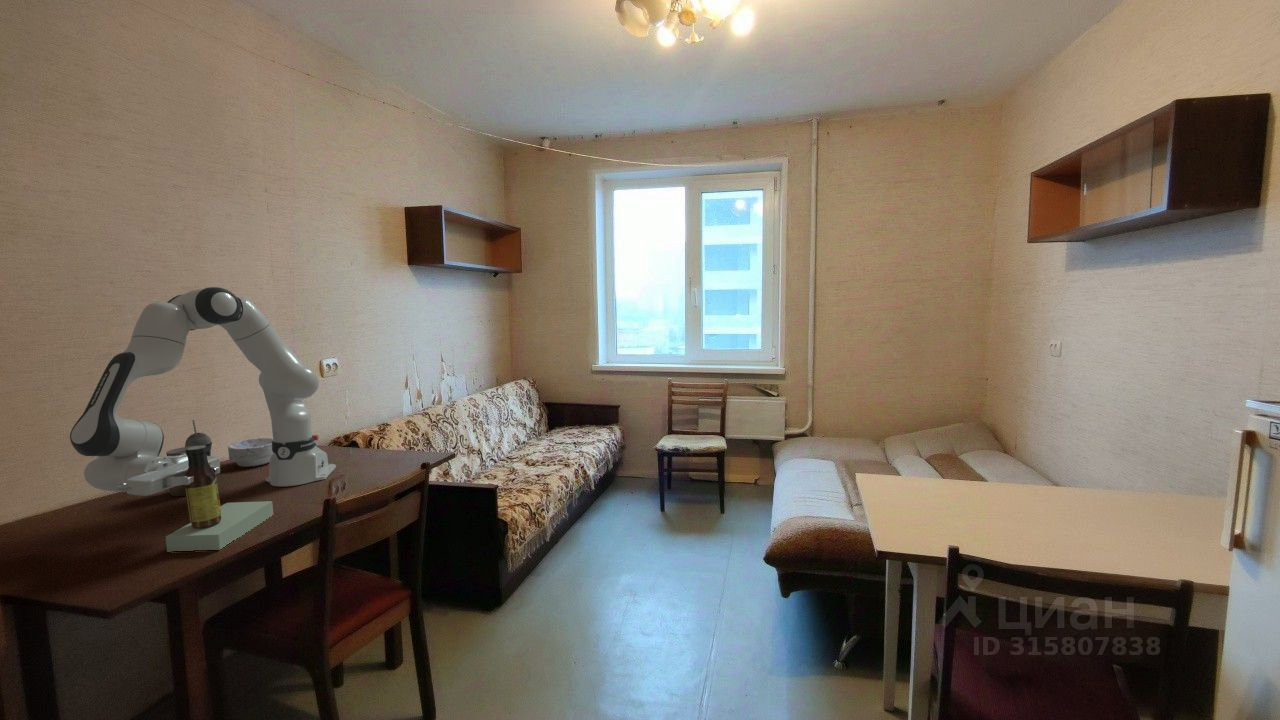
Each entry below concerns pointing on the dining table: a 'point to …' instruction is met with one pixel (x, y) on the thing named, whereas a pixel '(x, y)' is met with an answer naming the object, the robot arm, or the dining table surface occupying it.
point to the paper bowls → (251, 452)
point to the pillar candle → (181, 488)
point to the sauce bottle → (202, 489)
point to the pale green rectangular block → (221, 527)
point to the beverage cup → (199, 440)
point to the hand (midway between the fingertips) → (204, 475)
